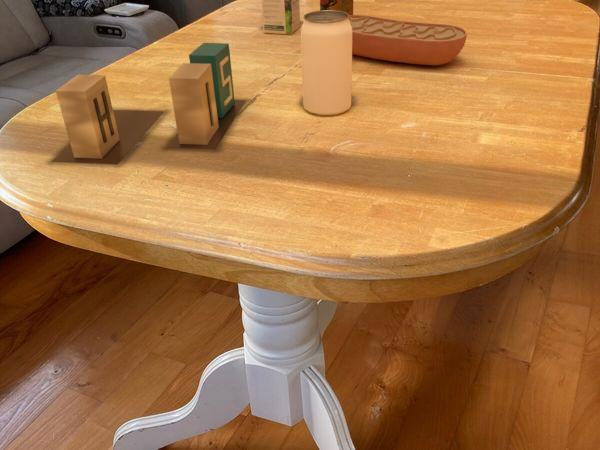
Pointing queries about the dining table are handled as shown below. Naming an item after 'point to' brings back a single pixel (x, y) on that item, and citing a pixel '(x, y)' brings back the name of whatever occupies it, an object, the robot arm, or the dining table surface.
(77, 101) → the block
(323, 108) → the can
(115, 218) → the dining table surface
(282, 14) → the syrup box
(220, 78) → the green alphabet block
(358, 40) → the orange elongated oval dish
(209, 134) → the slotted tan block
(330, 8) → the condiment
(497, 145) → the dining table surface
